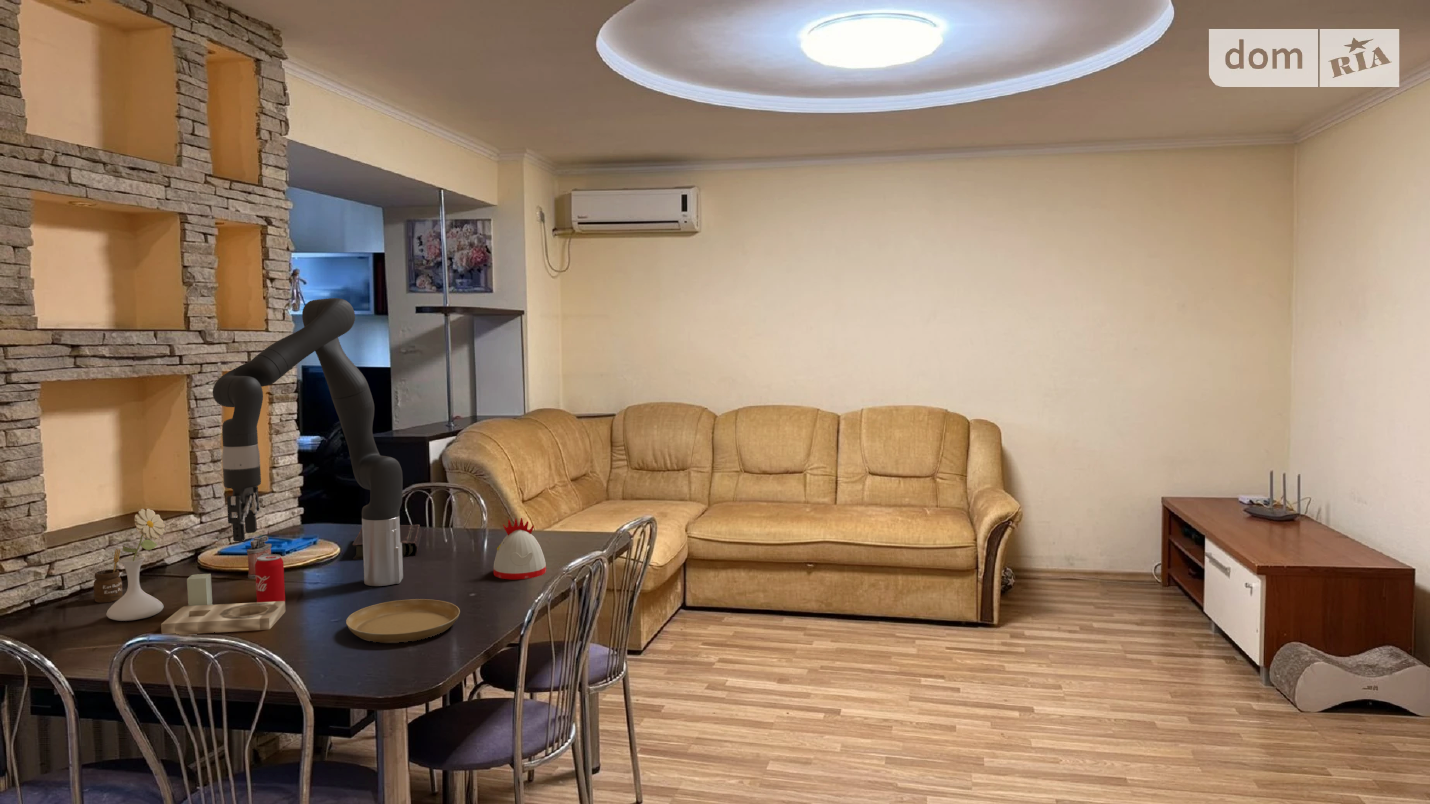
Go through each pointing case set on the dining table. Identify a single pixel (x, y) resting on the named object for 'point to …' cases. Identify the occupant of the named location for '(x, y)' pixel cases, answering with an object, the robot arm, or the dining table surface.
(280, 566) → the beverage can
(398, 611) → the plant saucer
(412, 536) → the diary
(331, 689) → the dining table surface
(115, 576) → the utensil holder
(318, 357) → the robot arm
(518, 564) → the kitchen timer
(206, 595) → the square peg
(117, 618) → the flower in vase
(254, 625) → the socket board
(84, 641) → the dining table surface
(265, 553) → the lighter
